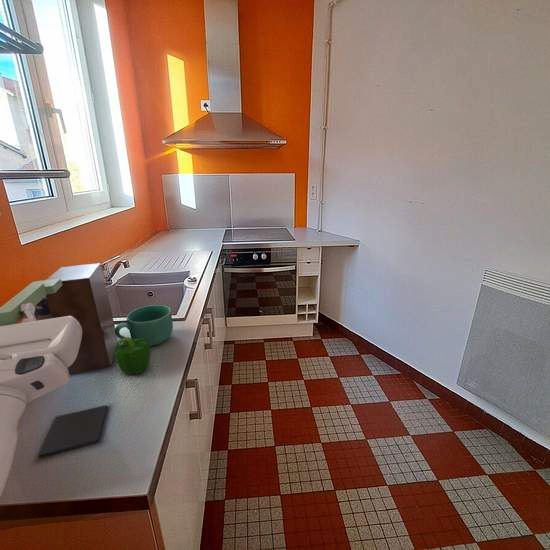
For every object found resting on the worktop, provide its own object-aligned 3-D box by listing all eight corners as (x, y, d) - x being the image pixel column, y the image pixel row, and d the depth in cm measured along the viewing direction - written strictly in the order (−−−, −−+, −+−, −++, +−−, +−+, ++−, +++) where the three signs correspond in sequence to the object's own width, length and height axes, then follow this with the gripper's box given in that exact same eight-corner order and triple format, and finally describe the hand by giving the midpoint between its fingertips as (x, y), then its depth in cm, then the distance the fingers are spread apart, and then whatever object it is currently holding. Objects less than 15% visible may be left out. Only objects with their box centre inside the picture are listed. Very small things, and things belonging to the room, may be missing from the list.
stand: (69, 374, 80) (41, 283, 72) (82, 347, 93) (60, 267, 84) (110, 366, 83) (89, 277, 75) (118, 341, 96) (100, 263, 87)
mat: (38, 457, 57) (37, 455, 56) (56, 418, 66) (55, 416, 65) (98, 442, 59) (97, 439, 59) (107, 407, 68) (106, 404, 68)
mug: (167, 326, 104) (163, 301, 101) (180, 341, 95) (176, 313, 92) (115, 342, 95) (108, 315, 92) (123, 361, 85) (116, 331, 82)
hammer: (25, 324, 48) (20, 310, 47) (-14, 330, 46) (-20, 315, 45) (62, 285, 65) (59, 274, 64) (35, 288, 63) (31, 277, 62)
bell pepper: (156, 358, 86) (150, 327, 83) (148, 376, 78) (142, 343, 75) (125, 361, 85) (118, 330, 82) (114, 380, 77) (106, 346, 74)
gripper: (-92, 415, 41) (-52, 329, 49) (80, 380, 46) (89, 308, 55) (-132, 397, 36) (-80, 306, 45) (65, 361, 42) (77, 286, 50)
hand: (14, 307), depth 50 cm, fingers closed on hammer, 2 cm apart
